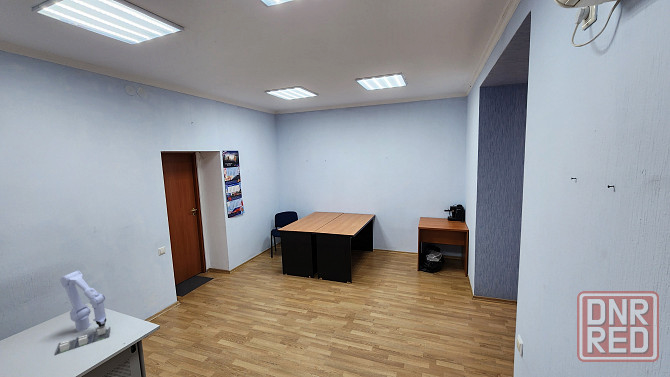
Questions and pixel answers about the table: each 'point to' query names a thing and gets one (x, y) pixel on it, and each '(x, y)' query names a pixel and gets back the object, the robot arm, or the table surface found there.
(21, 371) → the table surface
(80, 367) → the table surface
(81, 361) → the table surface
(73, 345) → the panel
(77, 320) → the robot arm
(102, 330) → the breaker
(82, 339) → the block
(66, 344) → the breaker right
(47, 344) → the table surface
